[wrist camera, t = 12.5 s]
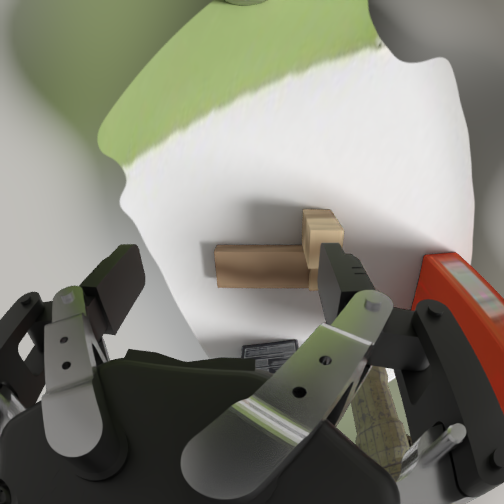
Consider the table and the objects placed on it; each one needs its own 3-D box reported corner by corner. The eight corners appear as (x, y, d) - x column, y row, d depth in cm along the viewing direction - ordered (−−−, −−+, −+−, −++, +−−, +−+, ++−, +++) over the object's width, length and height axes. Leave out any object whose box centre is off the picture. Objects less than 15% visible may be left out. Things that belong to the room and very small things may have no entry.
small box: (248, 366, 54) (244, 408, 44) (241, 345, 51) (236, 388, 41) (300, 360, 52) (304, 403, 43) (297, 338, 49) (301, 382, 40)
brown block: (216, 244, 42) (214, 252, 40) (330, 245, 41) (334, 252, 39) (220, 279, 44) (217, 287, 42) (326, 279, 43) (329, 287, 41)
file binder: (457, 252, 40) (564, 378, 11) (435, 326, 47) (497, 451, 19) (423, 254, 41) (532, 403, 12) (403, 331, 48) (459, 471, 19)
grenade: (384, 369, 53) (422, 509, 22) (334, 380, 55) (354, 529, 23) (389, 343, 49) (441, 499, 18) (334, 354, 51) (361, 525, 20)
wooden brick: (302, 209, 39) (310, 230, 32) (330, 209, 38) (344, 230, 31) (299, 276, 44) (304, 307, 36) (324, 276, 43) (333, 307, 36)
